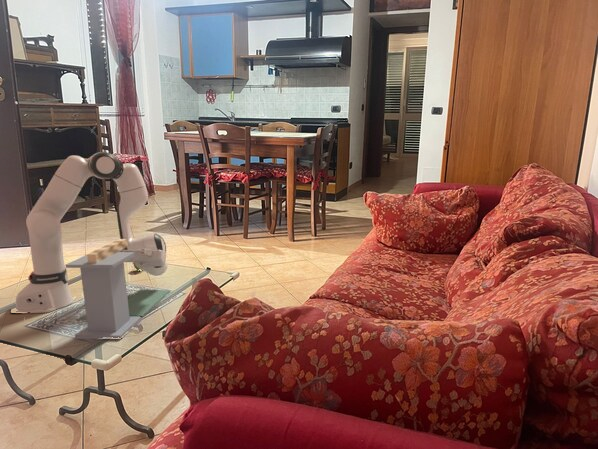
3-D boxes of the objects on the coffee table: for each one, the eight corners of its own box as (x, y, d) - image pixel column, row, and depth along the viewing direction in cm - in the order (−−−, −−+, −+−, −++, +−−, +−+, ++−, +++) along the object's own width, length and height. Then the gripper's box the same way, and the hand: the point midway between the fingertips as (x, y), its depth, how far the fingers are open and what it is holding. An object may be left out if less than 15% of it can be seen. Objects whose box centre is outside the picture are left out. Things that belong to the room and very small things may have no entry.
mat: (139, 291, 196) (139, 290, 196) (170, 291, 195) (170, 290, 194) (107, 316, 169) (106, 315, 168) (142, 317, 167) (142, 315, 167)
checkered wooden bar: (120, 246, 168) (119, 238, 167) (127, 246, 168) (126, 238, 167) (87, 263, 146) (86, 254, 146) (96, 263, 146) (95, 254, 145)
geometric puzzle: (126, 267, 226) (131, 256, 222) (136, 263, 231) (142, 253, 228) (134, 277, 224) (140, 265, 220) (145, 273, 230) (151, 262, 226)
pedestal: (100, 319, 166) (92, 252, 161) (141, 320, 164) (134, 252, 159) (75, 339, 150) (65, 264, 145) (120, 339, 149) (112, 264, 144)
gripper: (123, 252, 189) (106, 242, 176) (169, 252, 187) (157, 242, 174) (120, 266, 187) (104, 258, 173) (168, 267, 185) (155, 258, 172)
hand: (131, 250), depth 174 cm, fingers open, 8 cm apart
